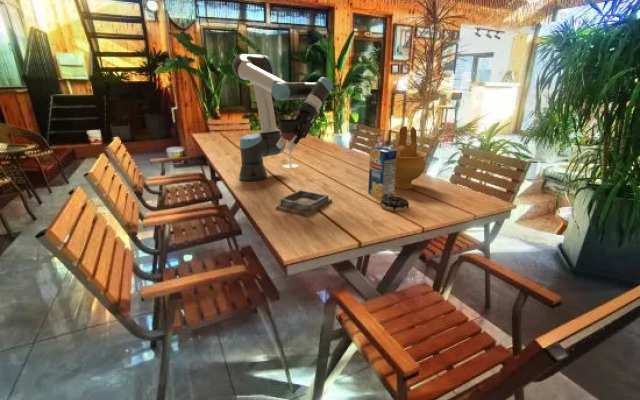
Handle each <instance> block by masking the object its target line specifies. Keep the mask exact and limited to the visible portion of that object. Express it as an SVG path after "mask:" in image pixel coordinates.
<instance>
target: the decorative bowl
mask: <svg viewBox="0 0 640 400" xmlns="http://www.w3.org/2000/svg"><path fill="white" fill-rule="evenodd" d="M398 133H399V140H398V142H397V145H396V149H395V148H394V149H393V150H397V163H396V176H395V188H396V189H399V190H400V189H402V190H408V189H412V188H413V184H412V181H414V180H417V179H418V178H419V177H421V175H422V174H423V173H424V171H425V169H426V167H427V163H426V161H425V160H424V158H425V157H427V153H426V152H424V151H420V150H418V148H417V147H418V143H417V141H418V140H417V139H418V138H417V134H418V133H417V130H416V128H415V127H414V126H411V128H410V133H409V135H410V137H409V138H410V144H409V145H407V138H408V126H407V125H405V126H402V127H400V129H399V131H398ZM395 188H394V189H395Z"/></svg>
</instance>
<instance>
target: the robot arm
mask: <svg viewBox="0 0 640 400" xmlns="http://www.w3.org/2000/svg"><path fill="white" fill-rule="evenodd" d="M231 67H232V70H233V73H234V74H235V76H237V78H239V79H242V80H244V81H250V83H251V84H252V85H253V87H254V95H255V100H256V106H257V111H258V119H259V122H260V131H259V133H252V134H249V133H248V134H246V135H242V137H241V138H240V139H239V148H240V159H241V167H240V171H239V175H238V176H239V179H240V180H241V181H243V182H259V181H263V180H265V179H267V178H268V173H267V170H266V168H265V165H264V158H266V157H273V156H277V155H280V154H282V153H284V150H285V149H286V148H287V149H288V151H289V150H290V151H291V152H293V151H294V149H295V148H296V146H297V144H298V143H299V142H300V140H302V139H306V138H307V135H308V134H309V132H310V129H311V128H312V126H313V124H314V123H315V122H316V120H315V119H314V118H315V117H316V115H317V114H318V112H319V111H320V109H321V107H322V105H323V104H324V102H325V101H326V99H327V98H328V97H329V95H330V94H331V91H332V90H333V87H334V86H333V83H332V81H331V80H330V79H329V78H328V77H324V76H322V77H319V79H318V80H317V81H315V82H310V81H309V82H307V81H299V82H297V81H295V82H293V81H291V82H290V81H289V82H288V81H285V80H283V79H281V78H280V77H278V76H276V75H274V74H275V65H274V62H273V60H272V58H270V56H268V55H263V54H251V53H250V54H247V53H240V54H238V55H237V56H235V58H234V59H233V61H232V66H231ZM273 98H274V99H275V100H276V101H288V100H290V101H291V100H304V101H303V103H302V104H301V106H300V107H299V109H298V111H299V112H298V114H297V115H293V114H291V117H290V119H289V120H299V129H298V133H297V134H296V135H297V136H296V135H295V136H294V138H293V139H292V140H291V142H290V144H289V143H288V145H287V140H286V139H284V138H283V137H282V136H281V132H280V128H278V127H277V122H276V115H275V109H274V104H273Z"/></svg>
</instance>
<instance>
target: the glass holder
mask: <svg viewBox="0 0 640 400" xmlns="http://www.w3.org/2000/svg"><path fill="white" fill-rule="evenodd" d="M332 202H333V199H332V198H329V195H328V194H324V193H319V192H313V191H309V190H303V189H299V190H297V191H295V192H293V193H291V194H288V195H286V196H284V197H282V198H281V199H280V204H278V205H276V206H275V209H276V210H278V211H283V212H287V213H292V214H295V215H300V216H303V217H307V218H309V217H310V216H311V215H313V214H315V213H317V212H318V211H319V210H321V209H322V208H324V207H326V206H328V205H329V204H331V203H332Z"/></svg>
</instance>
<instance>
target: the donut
mask: <svg viewBox="0 0 640 400" xmlns="http://www.w3.org/2000/svg"><path fill="white" fill-rule="evenodd" d="M409 204H410V202H409V201H408V200H407V199H406V198H404V197H402V196H397V195H394V196H389V197H385V198H383V199H382V200H381V201H380V204H379V205H380V206H381V208H382V209H384V210H386V211H390V212H398V213H399V212H404V211H406V210H408V209H409Z"/></svg>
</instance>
